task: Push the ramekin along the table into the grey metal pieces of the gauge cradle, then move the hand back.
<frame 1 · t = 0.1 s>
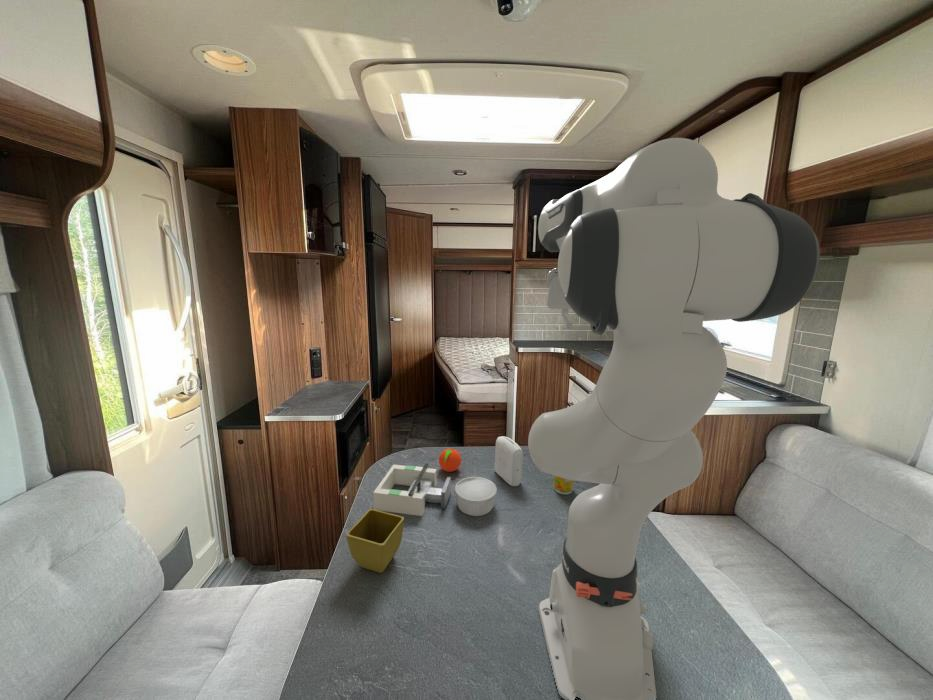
hand: (589, 329, 84), 48 cm above the table, fingers open, 8 cm apart
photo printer: (507, 478, 110), on the table
red tomato: (449, 471, 113), on the table
supplement bottle: (562, 490, 104), on the table
flower pot: (377, 563, 77), on the table
ramekin: (475, 506, 96), on the table
grey metal pieces: (428, 488, 98), point 3 cm above the table, slide at 0.0 cm
gauge cradle: (412, 497, 99), on the table
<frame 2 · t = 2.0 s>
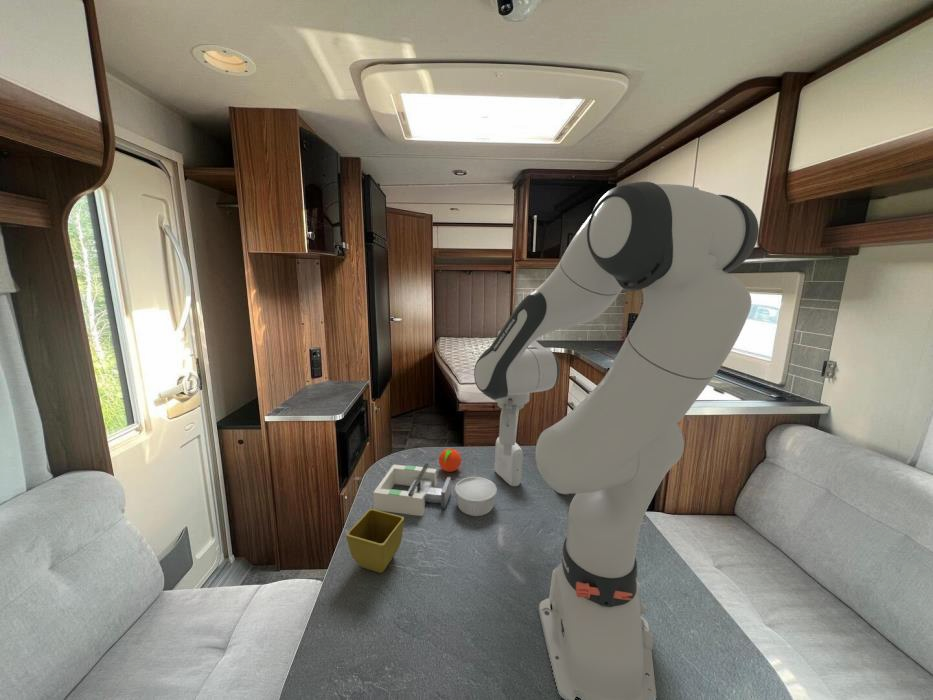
hand: (508, 444, 91), 18 cm above the table, fingers open, 8 cm apart
nothing on the table moved.
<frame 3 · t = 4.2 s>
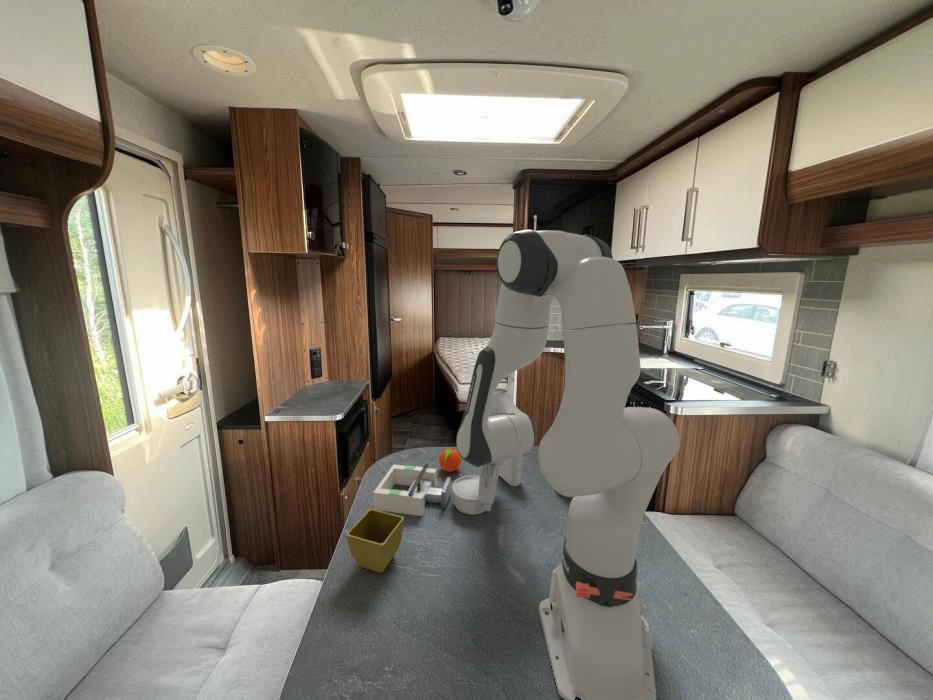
hand: (490, 497, 95), 3 cm above the table
ramekin: (472, 505, 97), on the table, touching gripper
everything else where it was.
when the fingers open (3 cm above the table, at t = 5.9 s): ramekin stays where it is, on the table.
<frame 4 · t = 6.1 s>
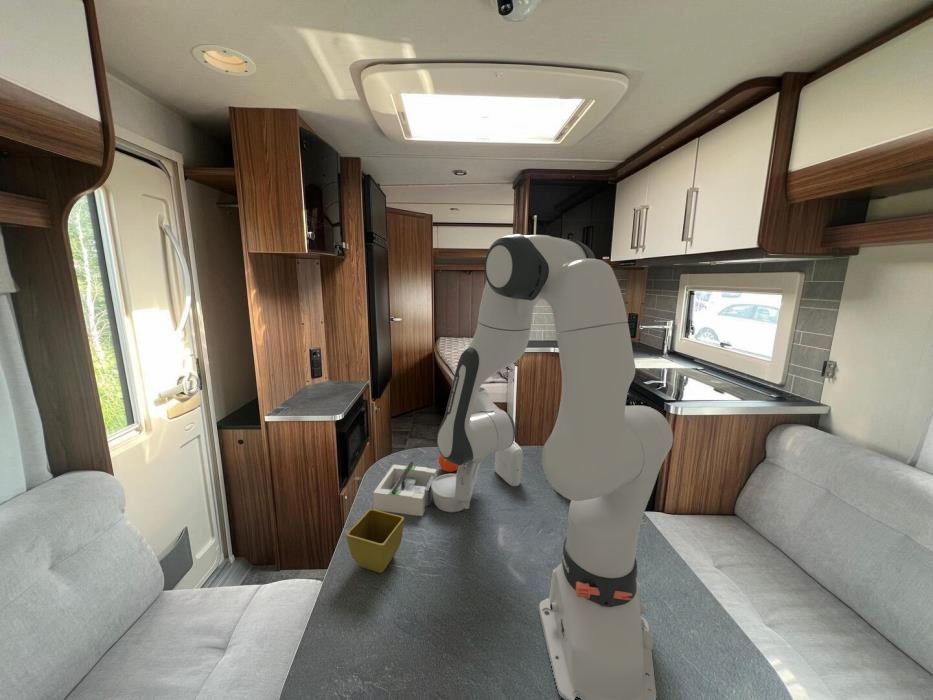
hand: (469, 495, 96), 3 cm above the table, fingers open, 8 cm apart
ramekin: (451, 502, 98), on the table, touching gripper
grey metal pieces: (413, 486, 99), point 3 cm above the table, slide at 4.4 cm
everything else where it was.
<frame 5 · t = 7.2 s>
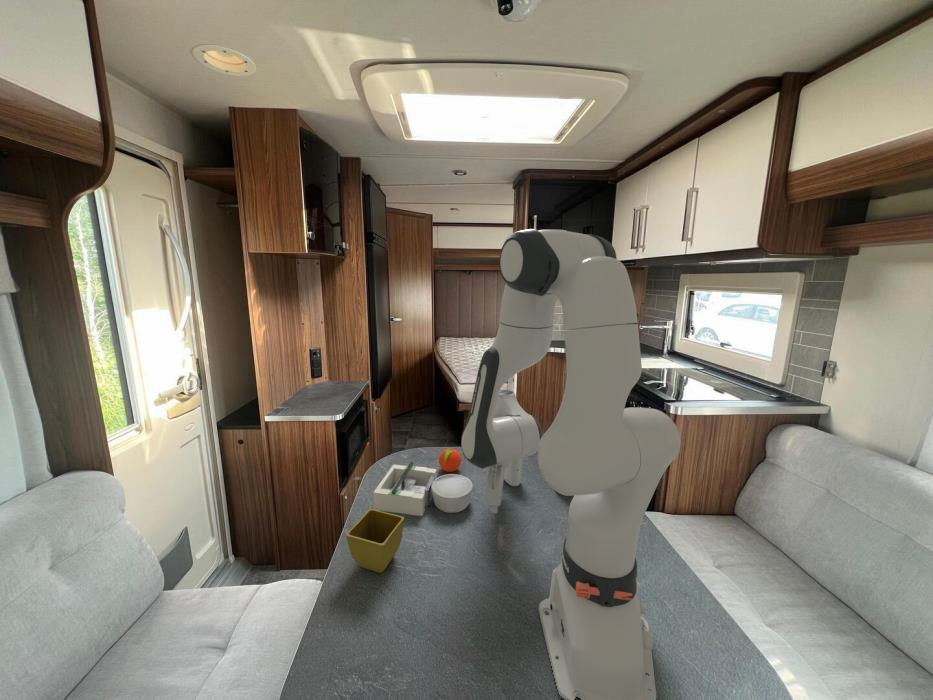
hand: (495, 499, 95), 2 cm above the table, fingers open, 8 cm apart
ramekin: (452, 503, 98), on the table
everything else where it was.
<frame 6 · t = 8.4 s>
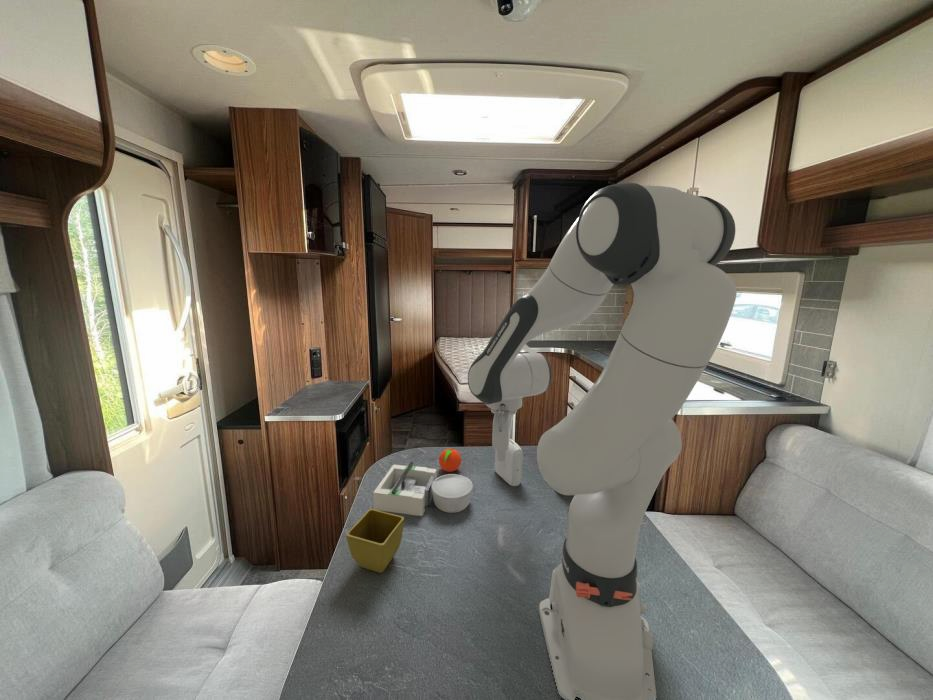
hand: (503, 451, 91), 17 cm above the table, fingers open, 8 cm apart
nothing on the table moved.
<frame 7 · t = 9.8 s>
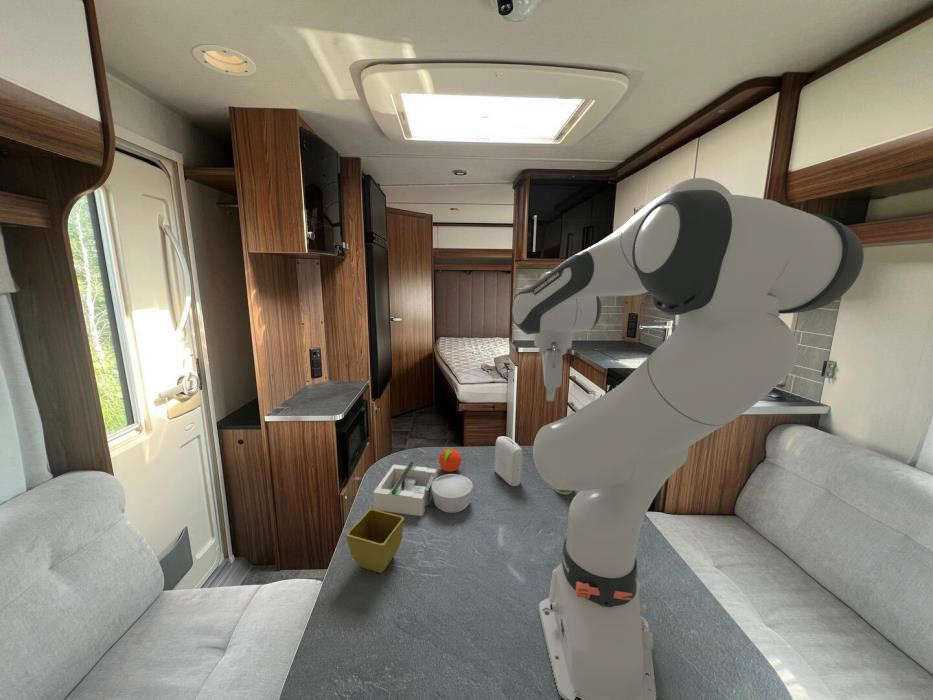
hand: (549, 393, 91), 31 cm above the table, fingers open, 8 cm apart
nothing on the table moved.
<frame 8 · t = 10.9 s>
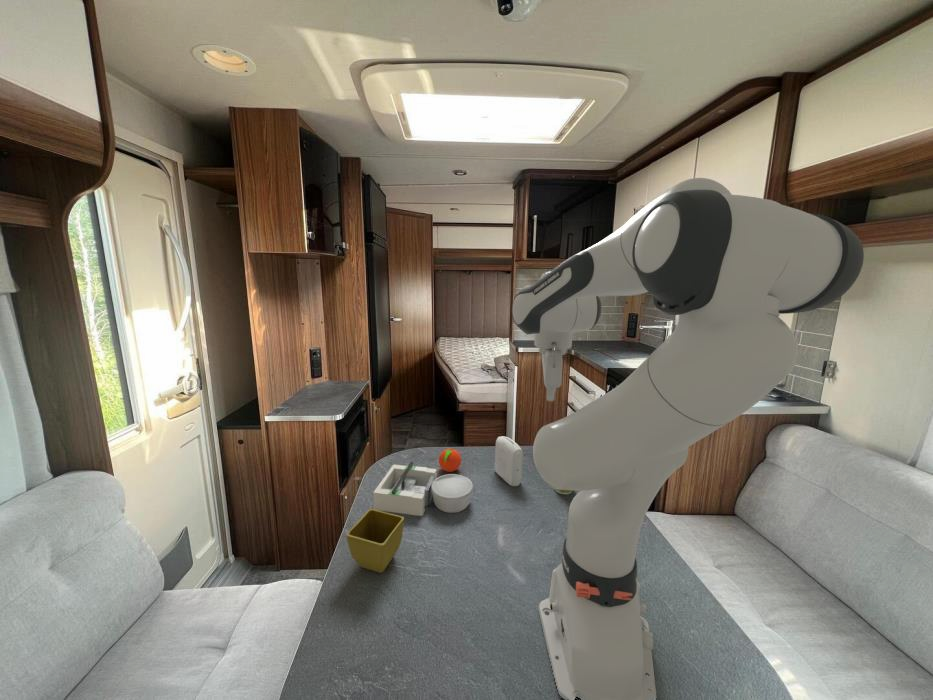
hand: (549, 393, 91), 31 cm above the table, fingers open, 8 cm apart
nothing on the table moved.
at the end: grey metal pieces slide at 4.4 cm; ramekin moved 6.4 cm from its start; ramekin tilted 0° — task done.
